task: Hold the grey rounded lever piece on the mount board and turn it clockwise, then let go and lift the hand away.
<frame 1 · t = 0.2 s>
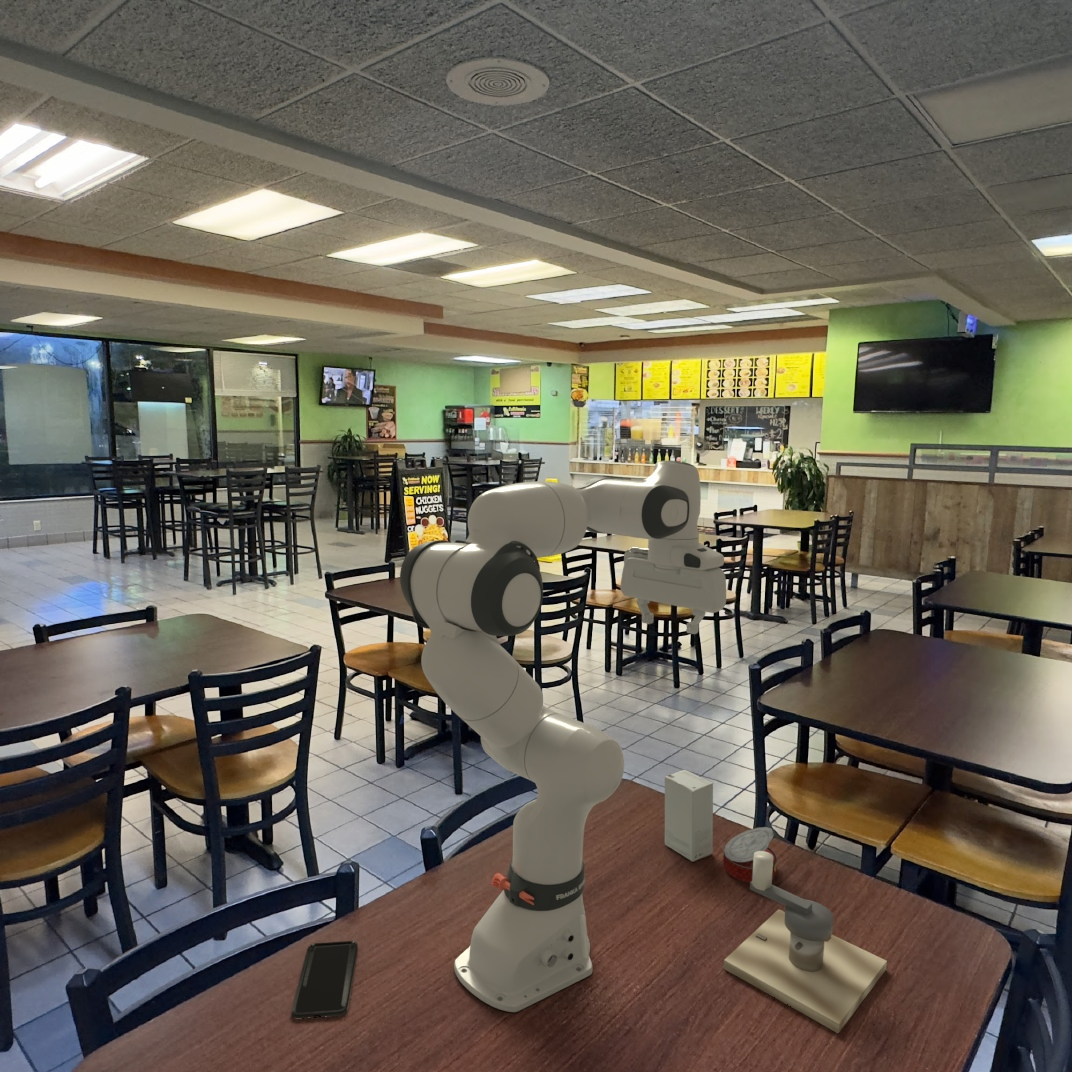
hand: (669, 627, 138), 47 cm above the table, fingers open, 8 cm apart
phone: (326, 983, 115), on the table
mount board: (805, 969, 119), on the table
canned food: (748, 869, 146), on the table
skincare box: (686, 850, 152), on the table
grey rounded lever piece: (791, 893, 119), point 11 cm above the table, hinge at 0.0°
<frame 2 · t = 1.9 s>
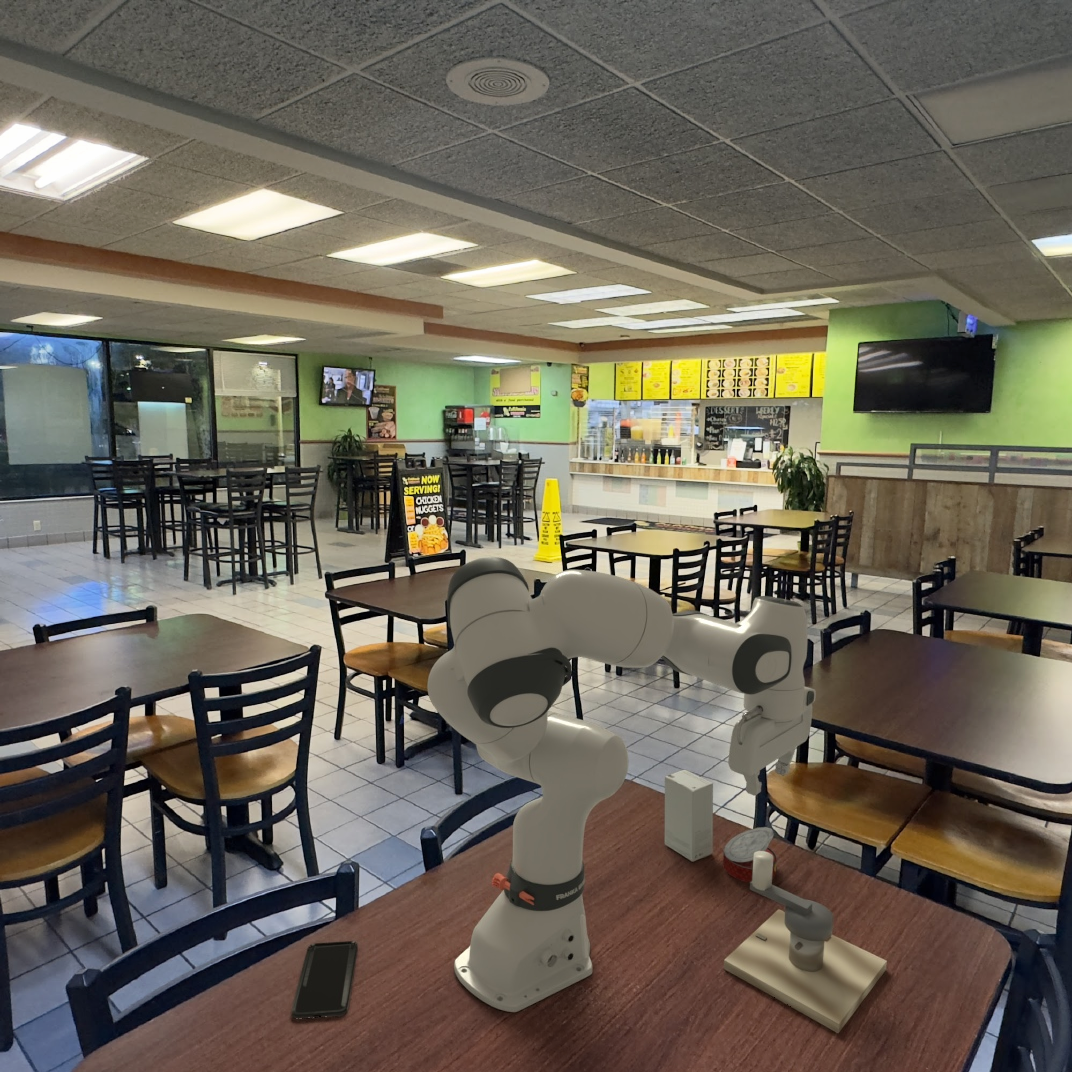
hand: (768, 783, 120), 28 cm above the table, fingers open, 8 cm apart
nothing on the table moved.
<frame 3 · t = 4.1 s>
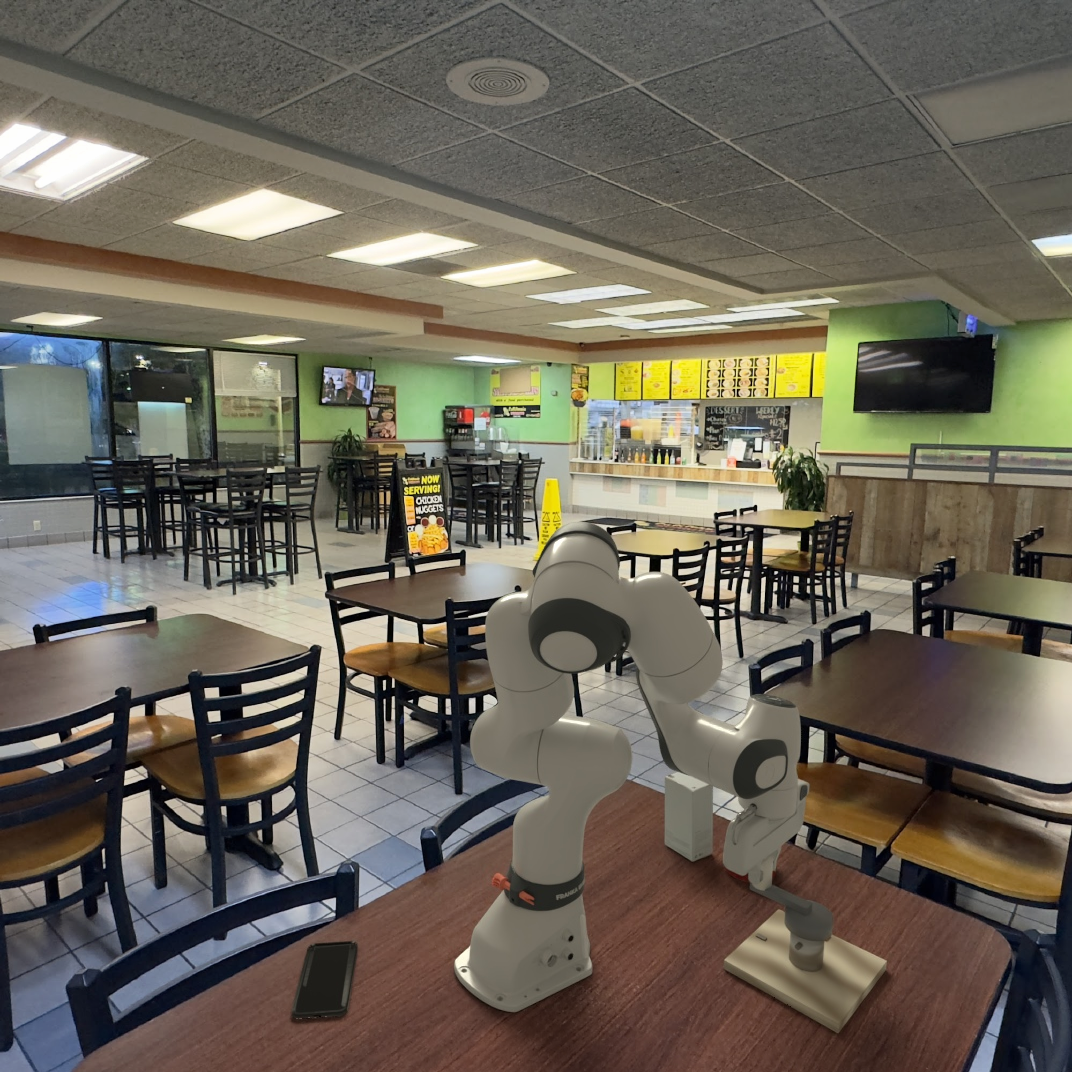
hand: (762, 875, 122), 12 cm above the table, fingers closed on grey rounded lever piece, 3 cm apart
grey rounded lever piece: (791, 893, 119), point 11 cm above the table, hinge at 0.0°, touching gripper
everything else where it was.
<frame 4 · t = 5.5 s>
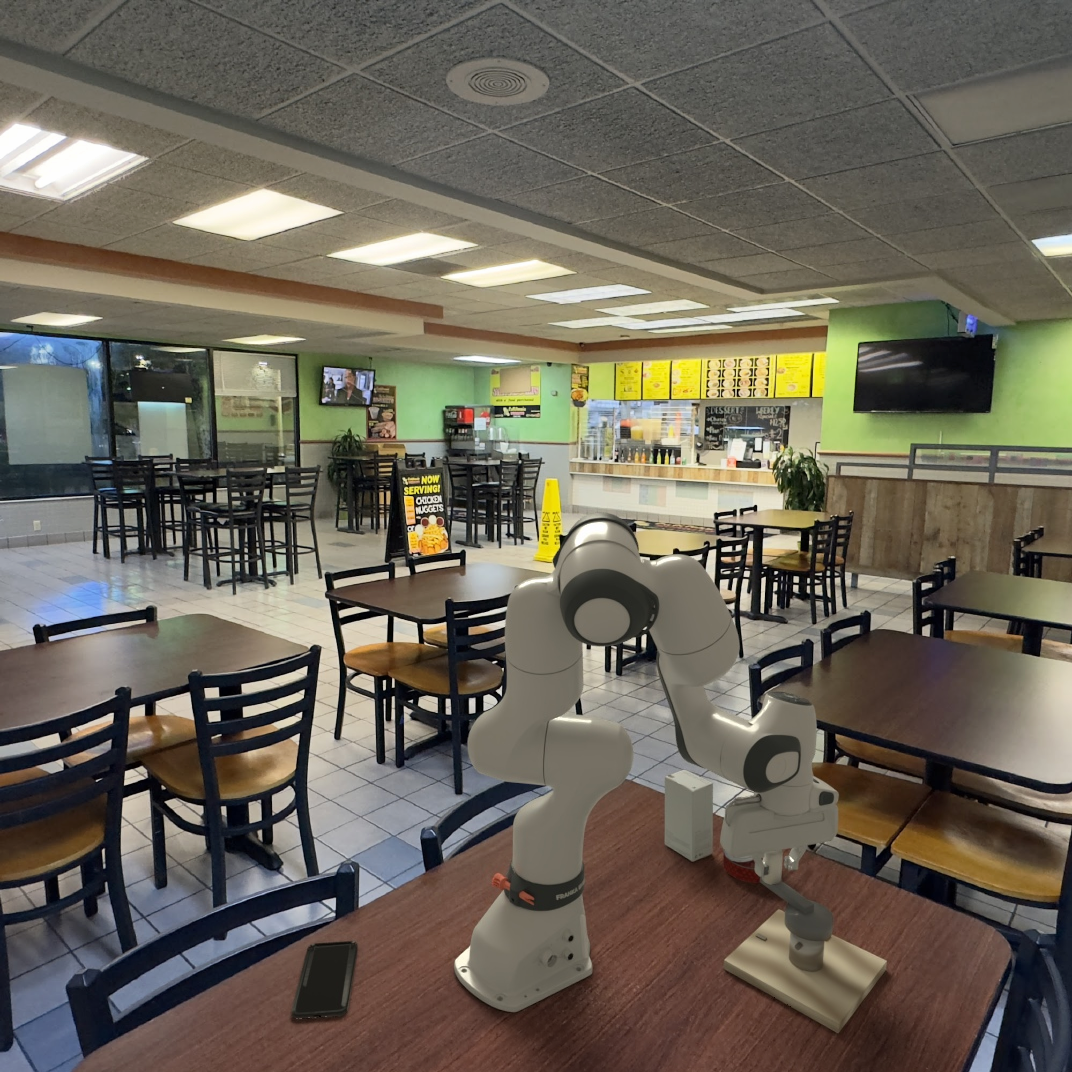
hand: (776, 871, 124), 12 cm above the table, fingers open, 4 cm apart
grey rounded lever piece: (795, 891, 120), point 11 cm above the table, hinge at 18.2°, touching gripper
everything else where it was.
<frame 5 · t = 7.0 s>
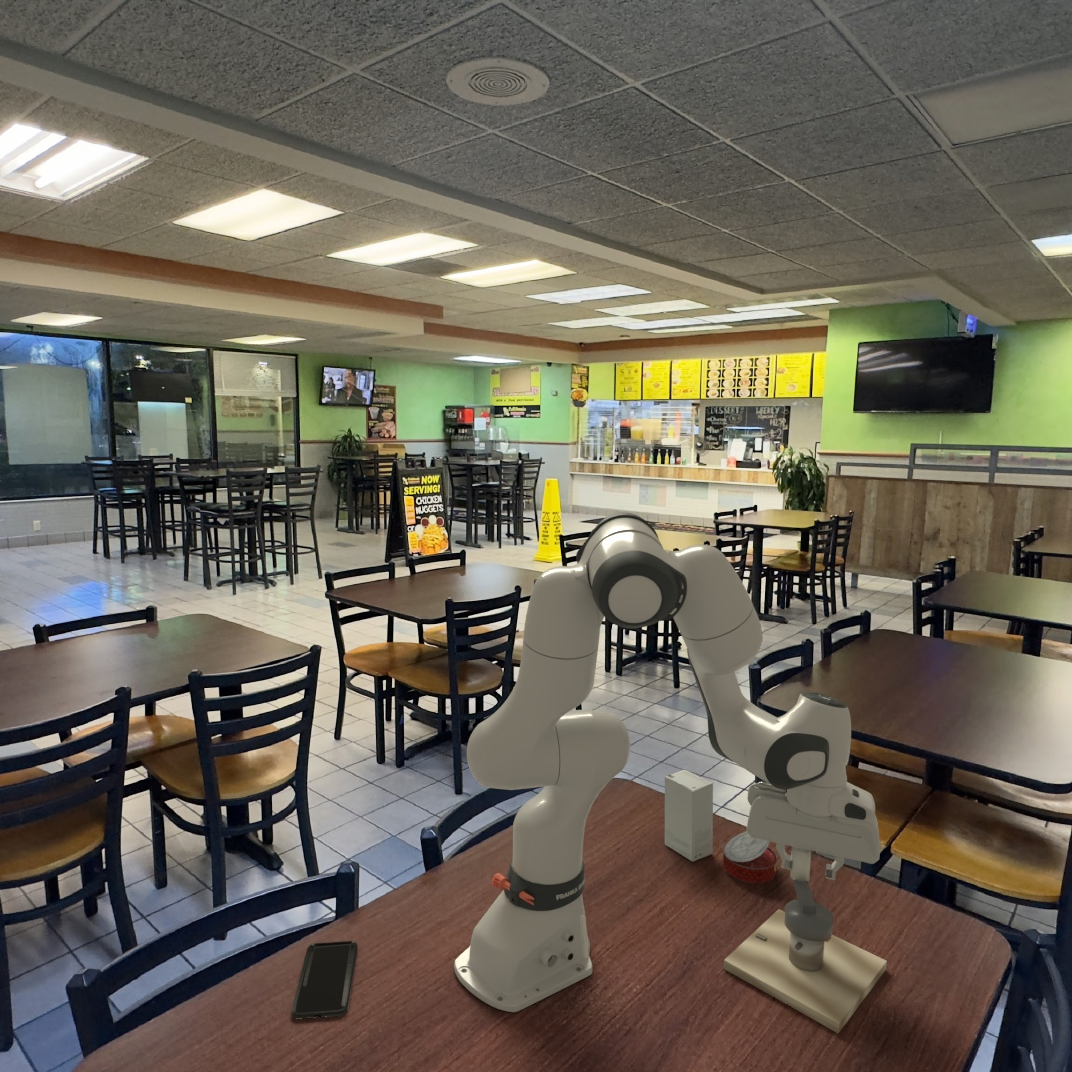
hand: (808, 872, 124), 12 cm above the table, fingers open, 5 cm apart
grey rounded lever piece: (806, 890, 120), point 11 cm above the table, hinge at 54.3°, touching gripper
everything else where it was.
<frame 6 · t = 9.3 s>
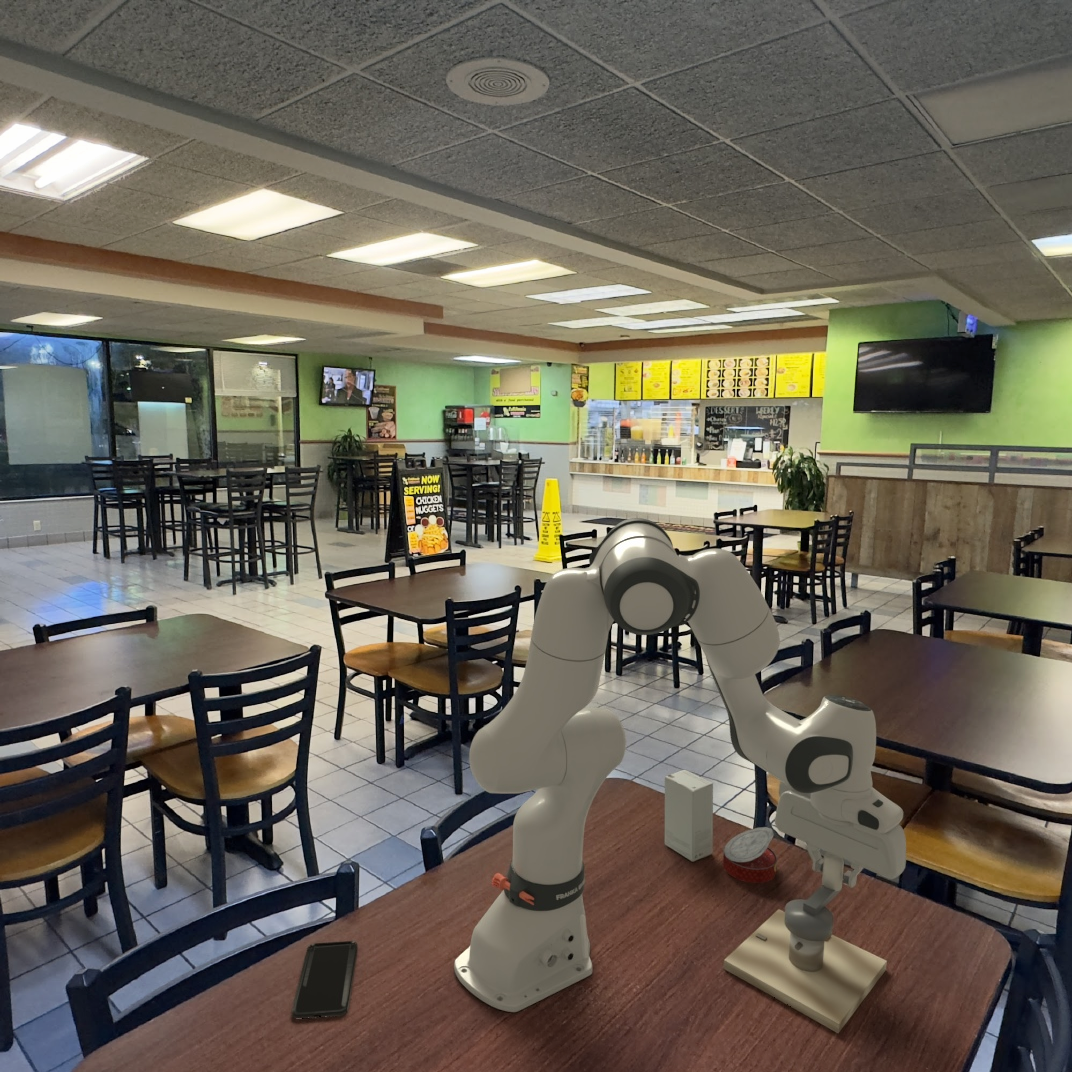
hand: (833, 877, 122), 12 cm above the table, fingers open, 4 cm apart
grey rounded lever piece: (818, 893, 119), point 11 cm above the table, hinge at 90.4°
everything else where it was.
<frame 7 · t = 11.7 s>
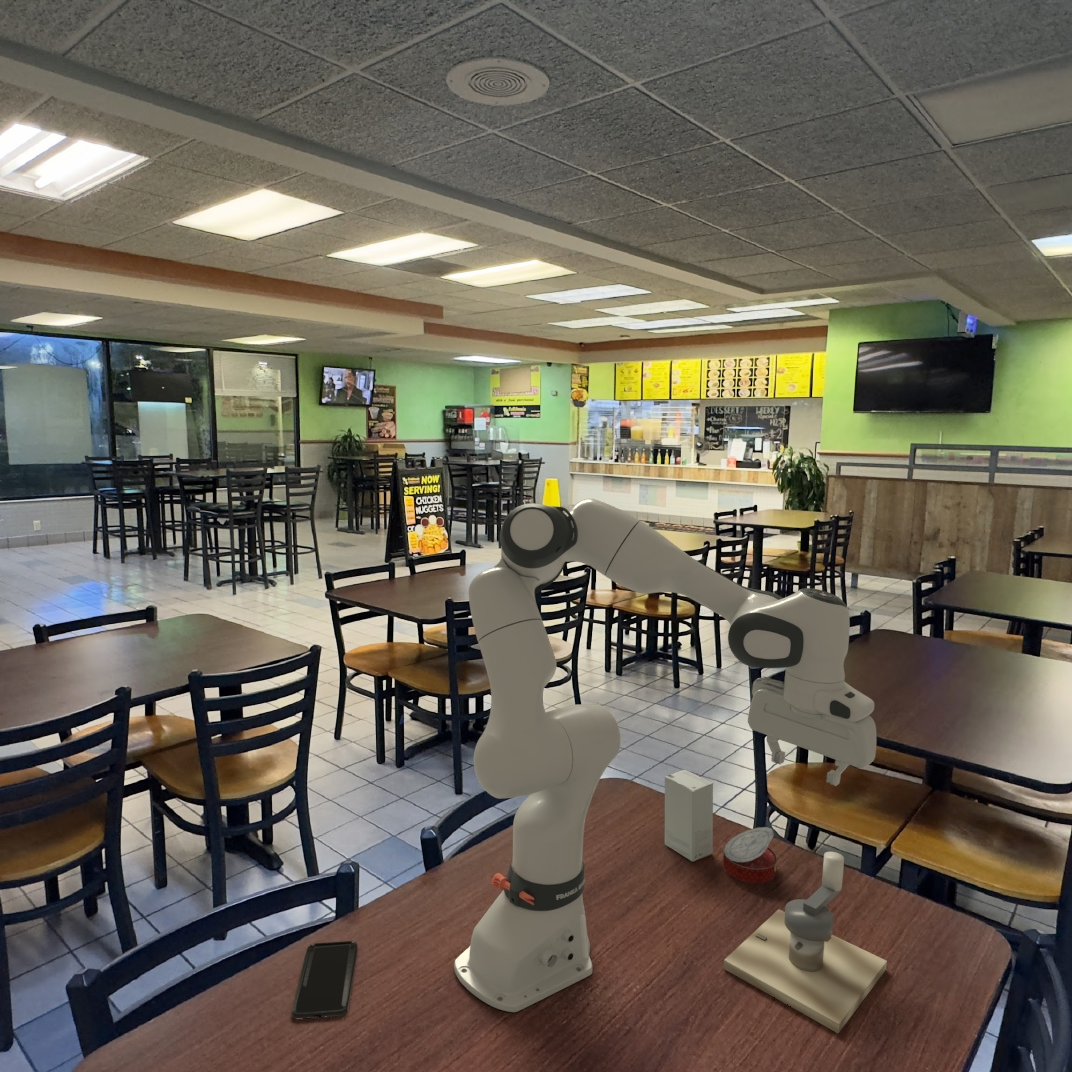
hand: (804, 772, 123), 28 cm above the table, fingers open, 8 cm apart
nothing on the table moved.
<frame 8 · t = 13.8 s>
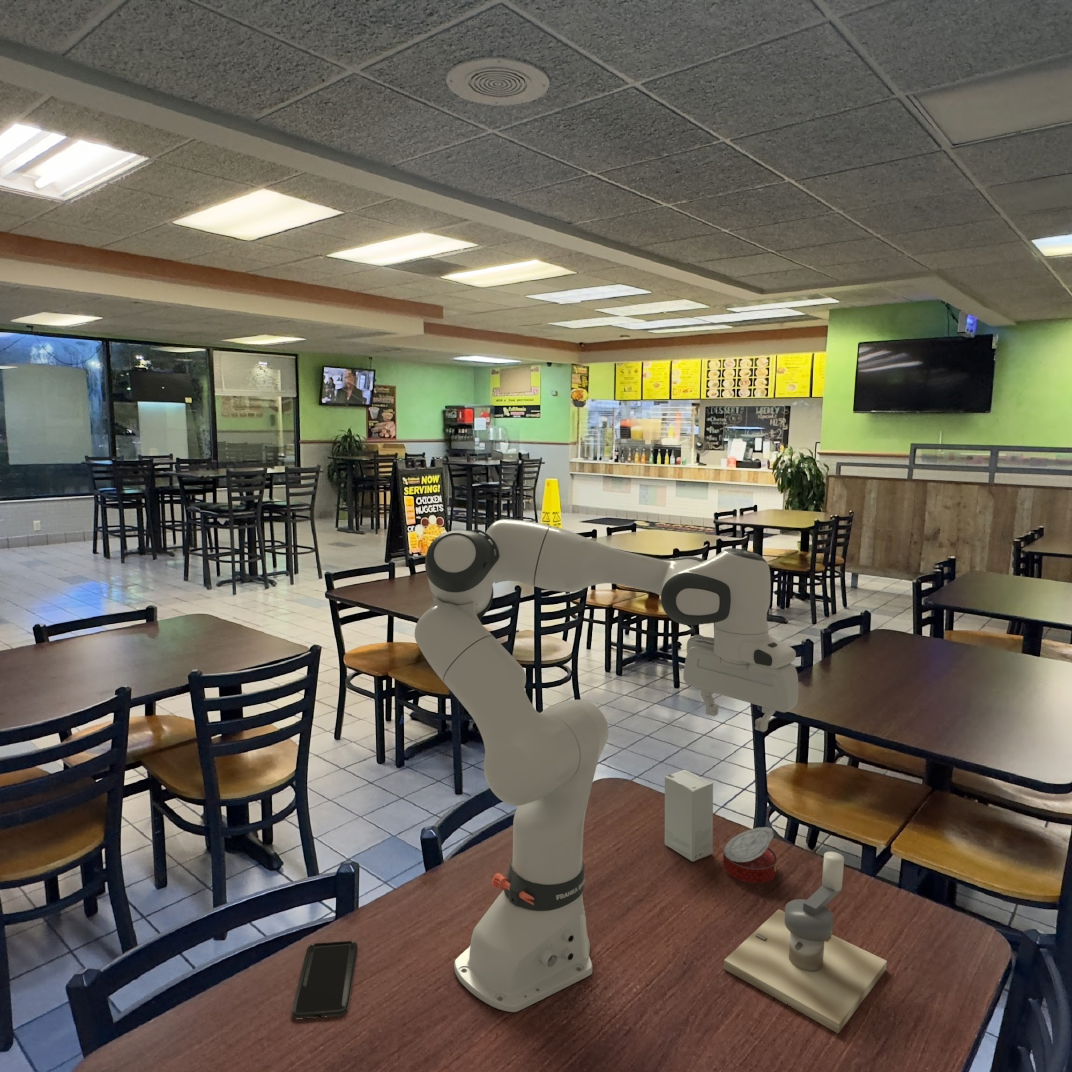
hand: (735, 722, 131), 33 cm above the table, fingers open, 8 cm apart
nothing on the table moved.
at the end: grey rounded lever piece at +90° (first picture: +0°); the gripper is holding nothing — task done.
